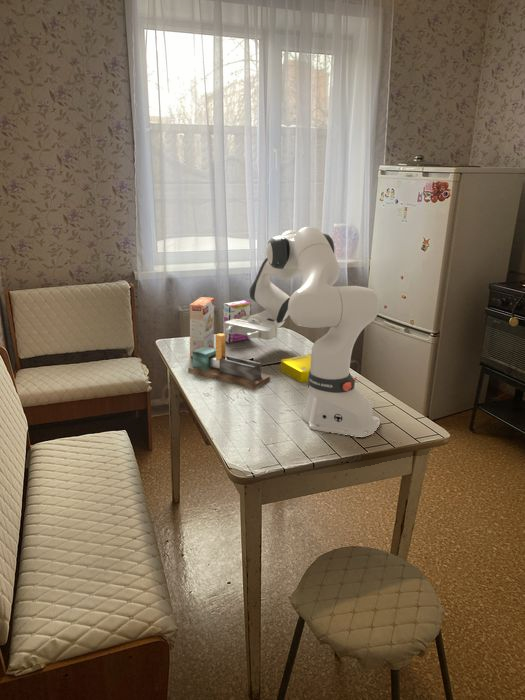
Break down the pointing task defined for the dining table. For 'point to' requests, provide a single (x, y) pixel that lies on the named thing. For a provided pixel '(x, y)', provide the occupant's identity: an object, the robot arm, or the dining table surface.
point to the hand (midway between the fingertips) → (238, 334)
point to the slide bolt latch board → (228, 369)
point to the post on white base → (218, 351)
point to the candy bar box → (235, 312)
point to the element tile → (297, 367)
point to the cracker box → (201, 324)
